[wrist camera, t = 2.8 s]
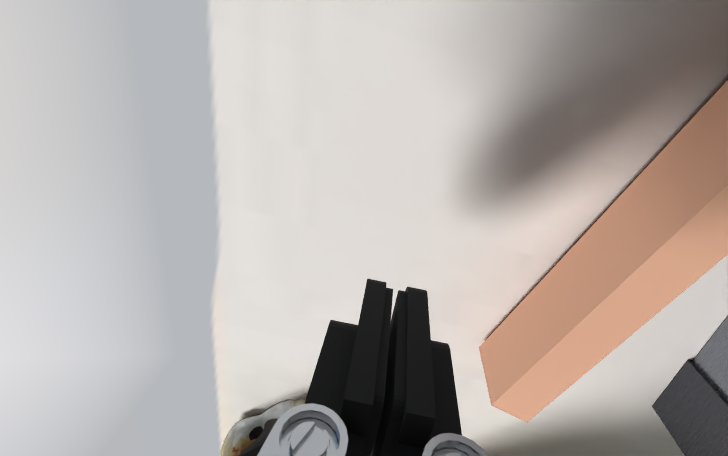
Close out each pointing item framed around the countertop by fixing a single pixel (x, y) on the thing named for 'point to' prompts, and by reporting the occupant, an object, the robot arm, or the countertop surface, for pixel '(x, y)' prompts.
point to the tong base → (700, 400)
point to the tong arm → (618, 270)
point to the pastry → (254, 429)
